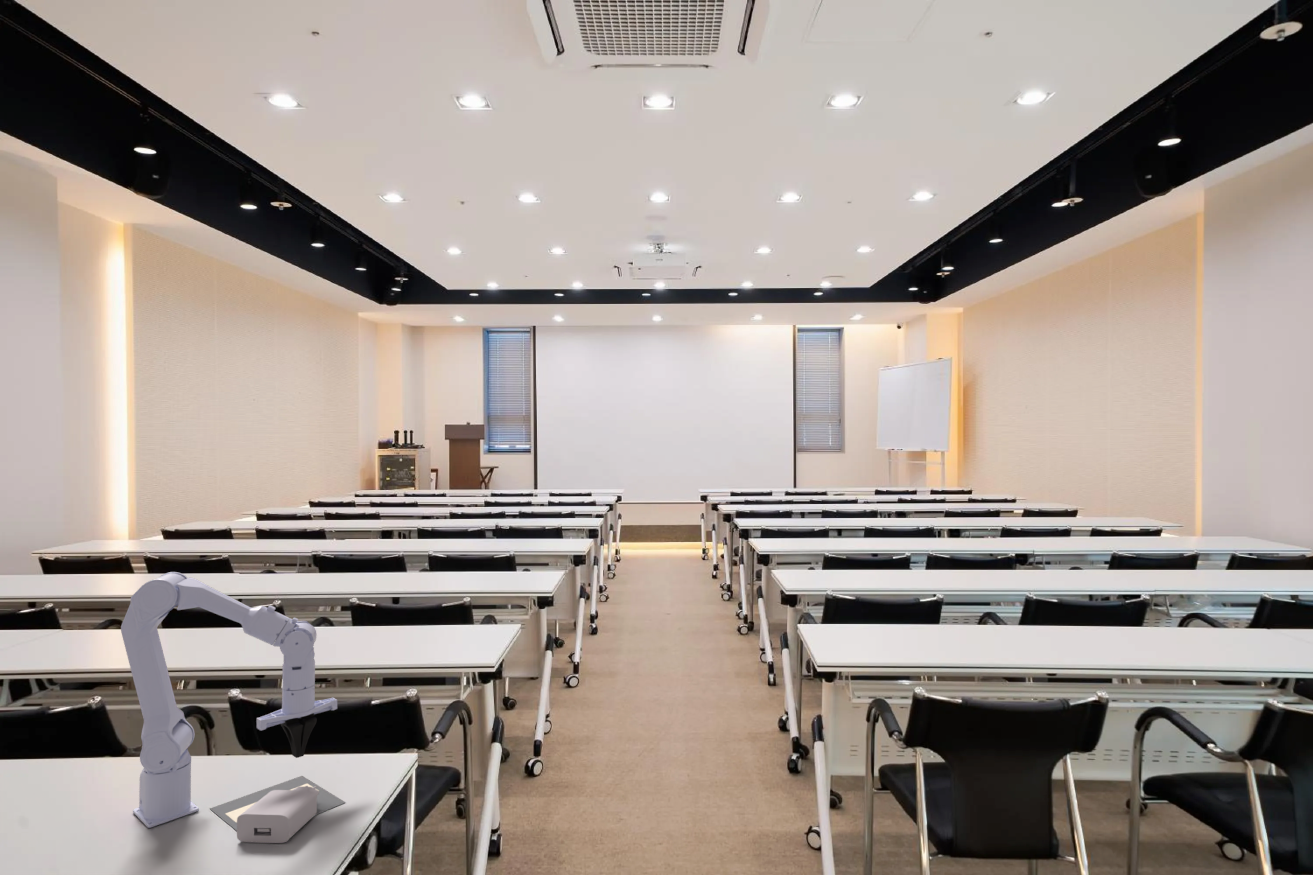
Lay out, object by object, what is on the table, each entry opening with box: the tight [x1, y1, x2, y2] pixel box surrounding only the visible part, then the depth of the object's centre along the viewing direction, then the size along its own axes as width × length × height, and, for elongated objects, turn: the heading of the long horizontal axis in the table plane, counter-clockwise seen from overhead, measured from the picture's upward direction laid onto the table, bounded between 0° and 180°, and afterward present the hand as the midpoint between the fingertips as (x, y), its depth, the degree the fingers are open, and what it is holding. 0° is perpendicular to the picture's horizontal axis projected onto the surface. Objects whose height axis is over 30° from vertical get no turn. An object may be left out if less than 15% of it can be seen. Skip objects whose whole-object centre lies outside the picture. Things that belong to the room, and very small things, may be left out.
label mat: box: [209, 775, 347, 832], centre depth 132 cm, size 18×17×1 cm
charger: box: [236, 786, 319, 844], centre depth 126 cm, size 5×9×15 cm
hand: (298, 755), depth 136 cm, fingers closed
